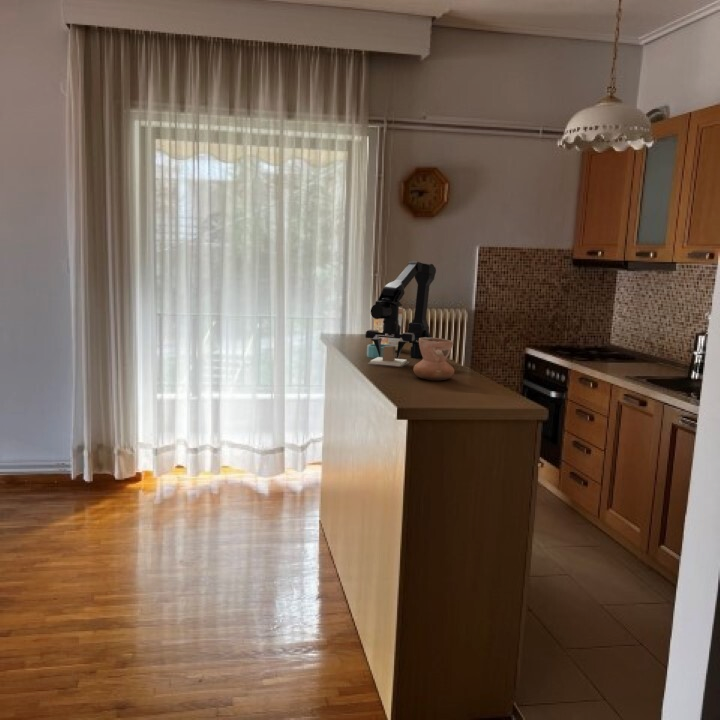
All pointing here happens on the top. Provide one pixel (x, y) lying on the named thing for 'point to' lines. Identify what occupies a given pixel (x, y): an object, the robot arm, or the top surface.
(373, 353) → the bowl
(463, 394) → the top surface
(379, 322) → the coffeecake box
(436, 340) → the ceramic jug
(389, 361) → the lid
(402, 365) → the mat
